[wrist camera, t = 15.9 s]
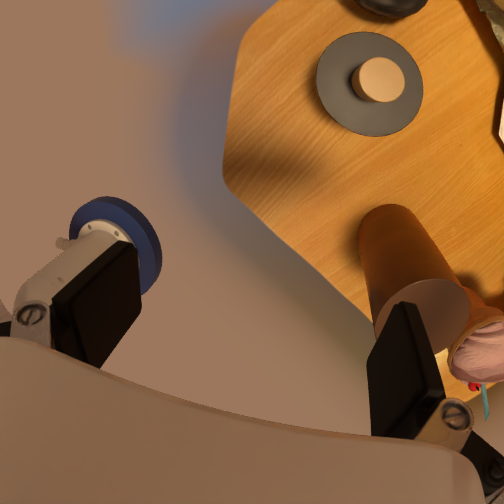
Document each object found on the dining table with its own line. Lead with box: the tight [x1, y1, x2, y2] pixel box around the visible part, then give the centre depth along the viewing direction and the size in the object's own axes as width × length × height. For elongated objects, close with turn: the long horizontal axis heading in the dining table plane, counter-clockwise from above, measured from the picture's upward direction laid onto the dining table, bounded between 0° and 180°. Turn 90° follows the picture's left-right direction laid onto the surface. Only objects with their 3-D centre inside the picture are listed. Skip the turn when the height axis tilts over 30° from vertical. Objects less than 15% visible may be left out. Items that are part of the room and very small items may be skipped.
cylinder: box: [357, 204, 470, 355], centre depth 31 cm, size 9×9×18 cm
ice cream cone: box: [447, 287, 504, 421], centre depth 32 cm, size 11×11×20 cm
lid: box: [316, 32, 423, 137], centre depth 22 cm, size 10×10×6 cm
